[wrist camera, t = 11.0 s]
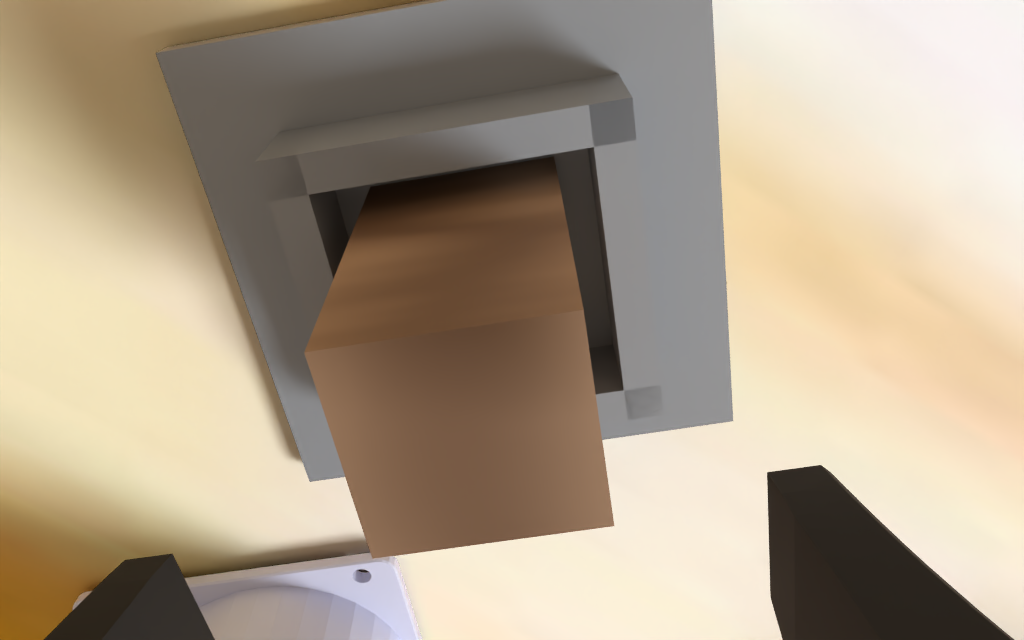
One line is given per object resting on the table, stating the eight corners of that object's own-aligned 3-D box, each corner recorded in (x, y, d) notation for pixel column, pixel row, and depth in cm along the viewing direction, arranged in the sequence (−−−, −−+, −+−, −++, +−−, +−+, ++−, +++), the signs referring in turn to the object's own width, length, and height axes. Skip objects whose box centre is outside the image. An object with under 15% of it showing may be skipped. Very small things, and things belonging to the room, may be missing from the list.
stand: (314, 467, 22) (293, 535, 20) (166, 47, 17) (115, 75, 15) (727, 407, 22) (754, 471, 19) (702, -50, 16) (735, -37, 14)
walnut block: (411, 345, 20) (372, 558, 14) (370, 187, 18) (304, 352, 12) (577, 319, 20) (614, 526, 14) (554, 156, 18) (583, 309, 12)
